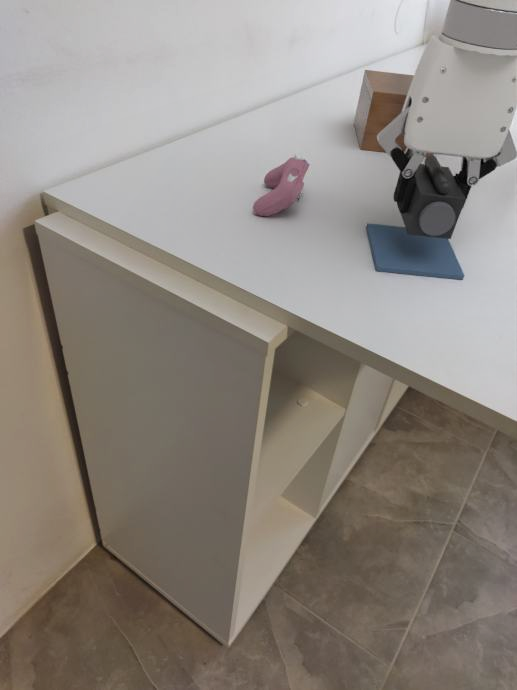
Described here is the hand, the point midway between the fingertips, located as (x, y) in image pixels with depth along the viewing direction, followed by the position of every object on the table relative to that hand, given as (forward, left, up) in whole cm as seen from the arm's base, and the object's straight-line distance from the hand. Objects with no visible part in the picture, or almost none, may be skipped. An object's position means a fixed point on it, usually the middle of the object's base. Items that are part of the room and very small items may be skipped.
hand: (425, 208), depth 60 cm
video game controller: (+16, -9, -6) cm, 19 cm away
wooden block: (-3, -37, -6) cm, 38 cm away
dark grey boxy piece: (0, 0, -1) cm, 1 cm away
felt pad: (0, 0, -6) cm, 6 cm away
